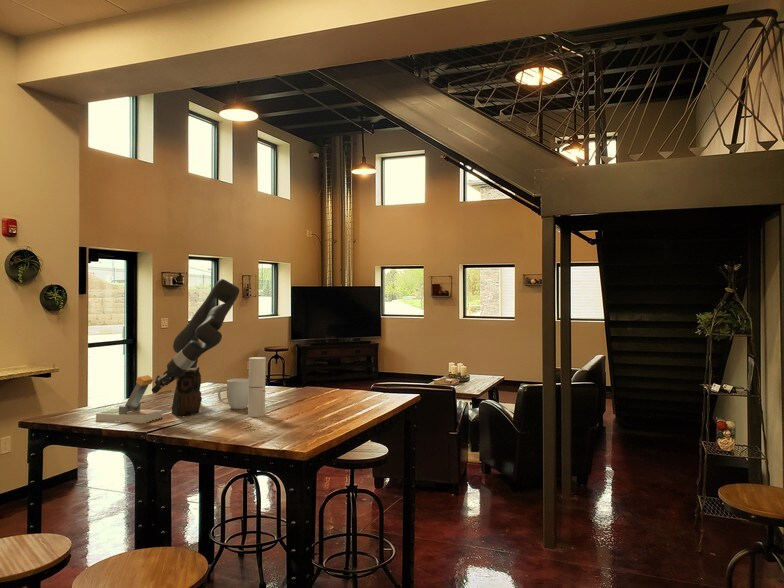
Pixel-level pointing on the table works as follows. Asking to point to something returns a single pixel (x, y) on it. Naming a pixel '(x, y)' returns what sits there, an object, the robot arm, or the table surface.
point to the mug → (236, 393)
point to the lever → (138, 392)
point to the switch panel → (128, 415)
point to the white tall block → (256, 386)
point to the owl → (187, 394)
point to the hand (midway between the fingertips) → (153, 391)
